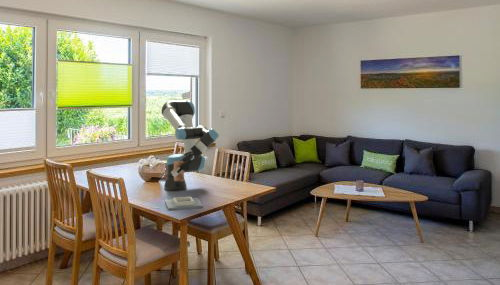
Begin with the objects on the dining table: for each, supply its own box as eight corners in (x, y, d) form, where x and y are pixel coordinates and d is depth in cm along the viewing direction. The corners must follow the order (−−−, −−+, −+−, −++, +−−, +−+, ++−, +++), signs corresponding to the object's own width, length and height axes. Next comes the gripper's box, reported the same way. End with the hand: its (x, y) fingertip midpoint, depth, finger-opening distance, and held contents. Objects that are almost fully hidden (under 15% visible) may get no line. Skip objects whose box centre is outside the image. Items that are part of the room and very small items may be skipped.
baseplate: (168, 210, 228) (168, 204, 228) (164, 201, 245) (164, 196, 245) (203, 207, 234) (203, 202, 234) (197, 199, 251) (197, 194, 251)
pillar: (175, 181, 253) (174, 162, 251) (173, 179, 258) (173, 161, 257) (183, 181, 255) (183, 162, 253) (182, 179, 260) (182, 160, 258)
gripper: (205, 155, 250) (179, 182, 247) (200, 150, 267) (175, 175, 265) (197, 146, 248) (170, 174, 245) (192, 142, 265) (167, 168, 262)
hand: (172, 175), depth 255 cm, fingers closed on pillar, 5 cm apart
